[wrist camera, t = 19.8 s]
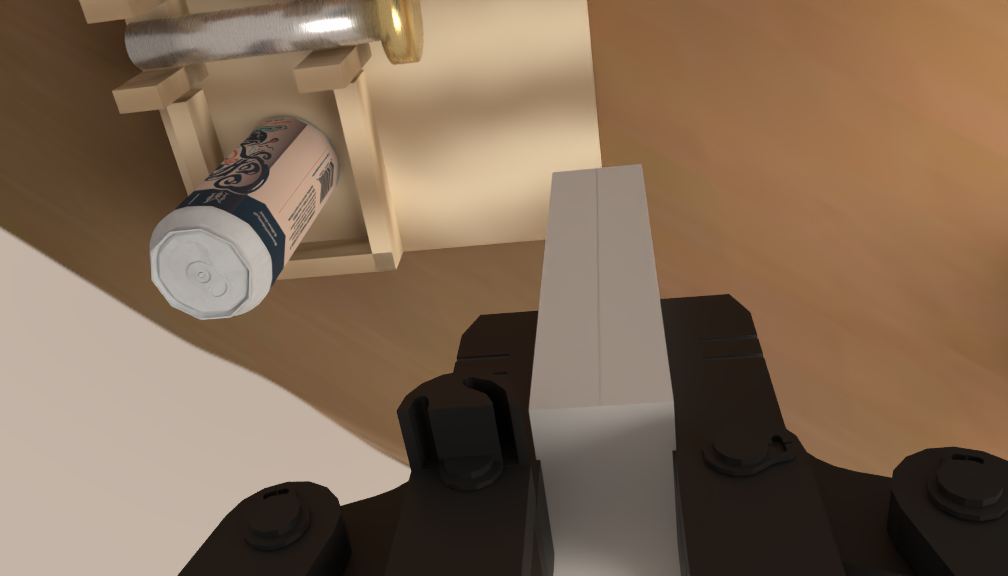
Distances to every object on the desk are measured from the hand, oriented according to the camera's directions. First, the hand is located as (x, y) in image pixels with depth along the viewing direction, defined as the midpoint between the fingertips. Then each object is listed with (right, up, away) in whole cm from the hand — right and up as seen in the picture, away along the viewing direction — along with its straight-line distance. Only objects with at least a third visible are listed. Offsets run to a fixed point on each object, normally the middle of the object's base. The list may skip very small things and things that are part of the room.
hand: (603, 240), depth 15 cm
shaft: (-11, +11, +23) cm, 28 cm away
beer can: (-12, +6, +28) cm, 31 cm away
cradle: (-8, +8, +27) cm, 29 cm away
